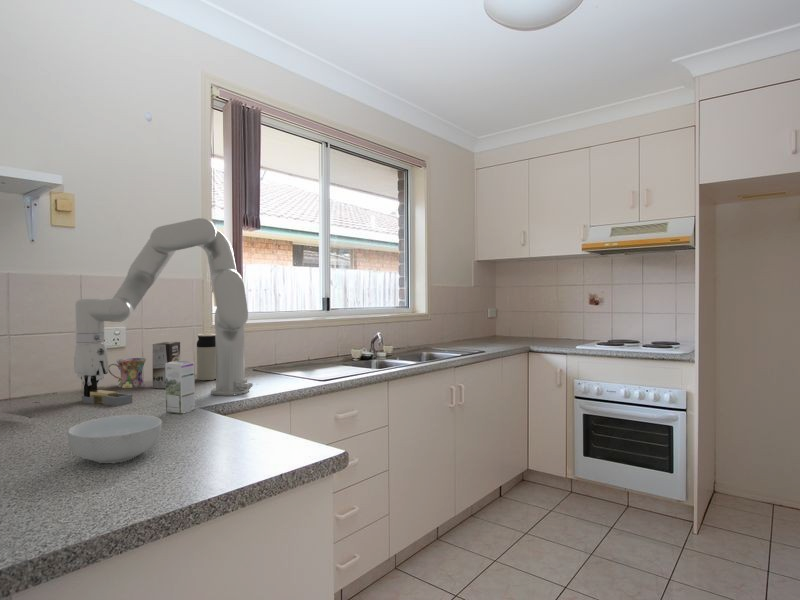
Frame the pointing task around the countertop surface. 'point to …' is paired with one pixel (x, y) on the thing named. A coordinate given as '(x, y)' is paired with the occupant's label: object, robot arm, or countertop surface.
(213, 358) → the travel mug
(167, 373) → the syrup box
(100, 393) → the latch bolt
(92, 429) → the cereal bowl
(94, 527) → the countertop surface
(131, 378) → the mug
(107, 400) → the grey tray
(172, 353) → the coffee box
